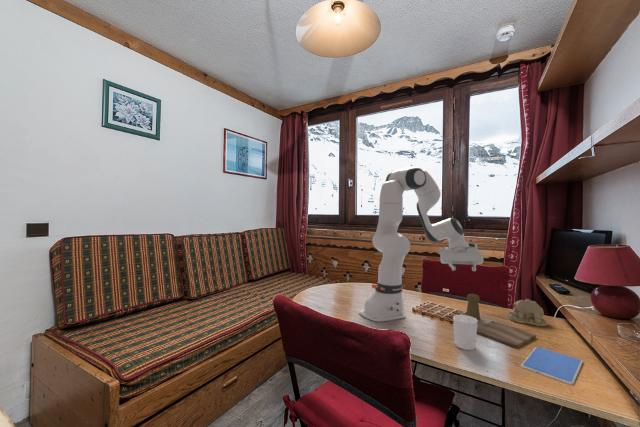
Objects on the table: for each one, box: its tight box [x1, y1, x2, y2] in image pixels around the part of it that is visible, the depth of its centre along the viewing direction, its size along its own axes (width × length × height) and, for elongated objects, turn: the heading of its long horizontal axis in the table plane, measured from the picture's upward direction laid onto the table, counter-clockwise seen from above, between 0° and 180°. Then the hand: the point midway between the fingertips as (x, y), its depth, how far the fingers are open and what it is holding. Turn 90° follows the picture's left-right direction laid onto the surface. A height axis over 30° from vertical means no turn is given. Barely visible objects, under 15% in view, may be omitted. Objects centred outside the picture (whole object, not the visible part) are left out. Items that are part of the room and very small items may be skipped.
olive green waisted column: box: [465, 293, 481, 322], centre depth 129 cm, size 6×6×11 cm
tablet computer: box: [520, 346, 583, 386], centre depth 90 cm, size 19×13×1 cm, turn 130°
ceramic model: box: [506, 298, 549, 327], centre depth 126 cm, size 14×11×10 cm
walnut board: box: [477, 320, 537, 349], centre depth 111 cm, size 16×16×1 cm
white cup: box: [452, 314, 479, 351], centre depth 102 cm, size 8×8×10 cm
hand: (464, 270), depth 141 cm, fingers open, 8 cm apart
